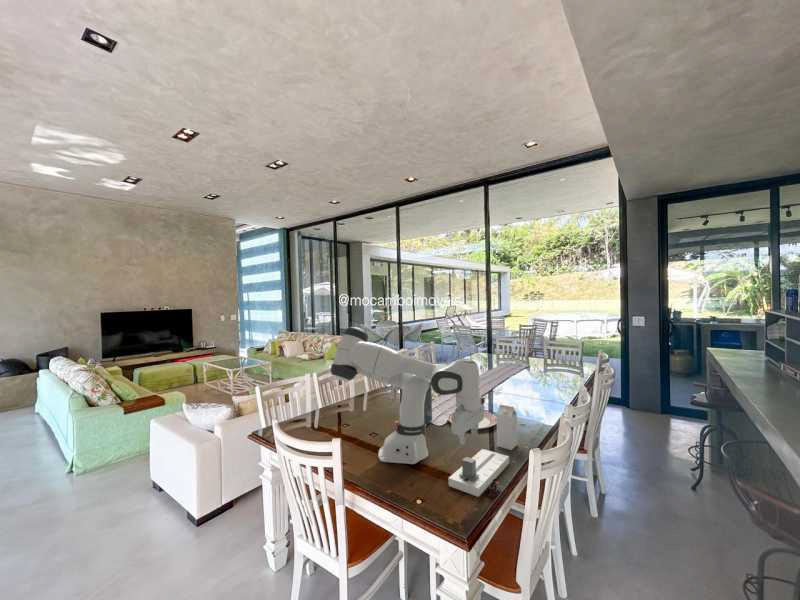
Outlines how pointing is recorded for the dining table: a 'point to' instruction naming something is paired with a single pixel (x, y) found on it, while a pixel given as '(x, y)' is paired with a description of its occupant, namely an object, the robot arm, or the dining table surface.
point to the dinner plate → (485, 423)
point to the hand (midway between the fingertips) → (468, 439)
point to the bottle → (428, 405)
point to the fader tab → (469, 469)
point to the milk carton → (506, 427)
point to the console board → (480, 472)
